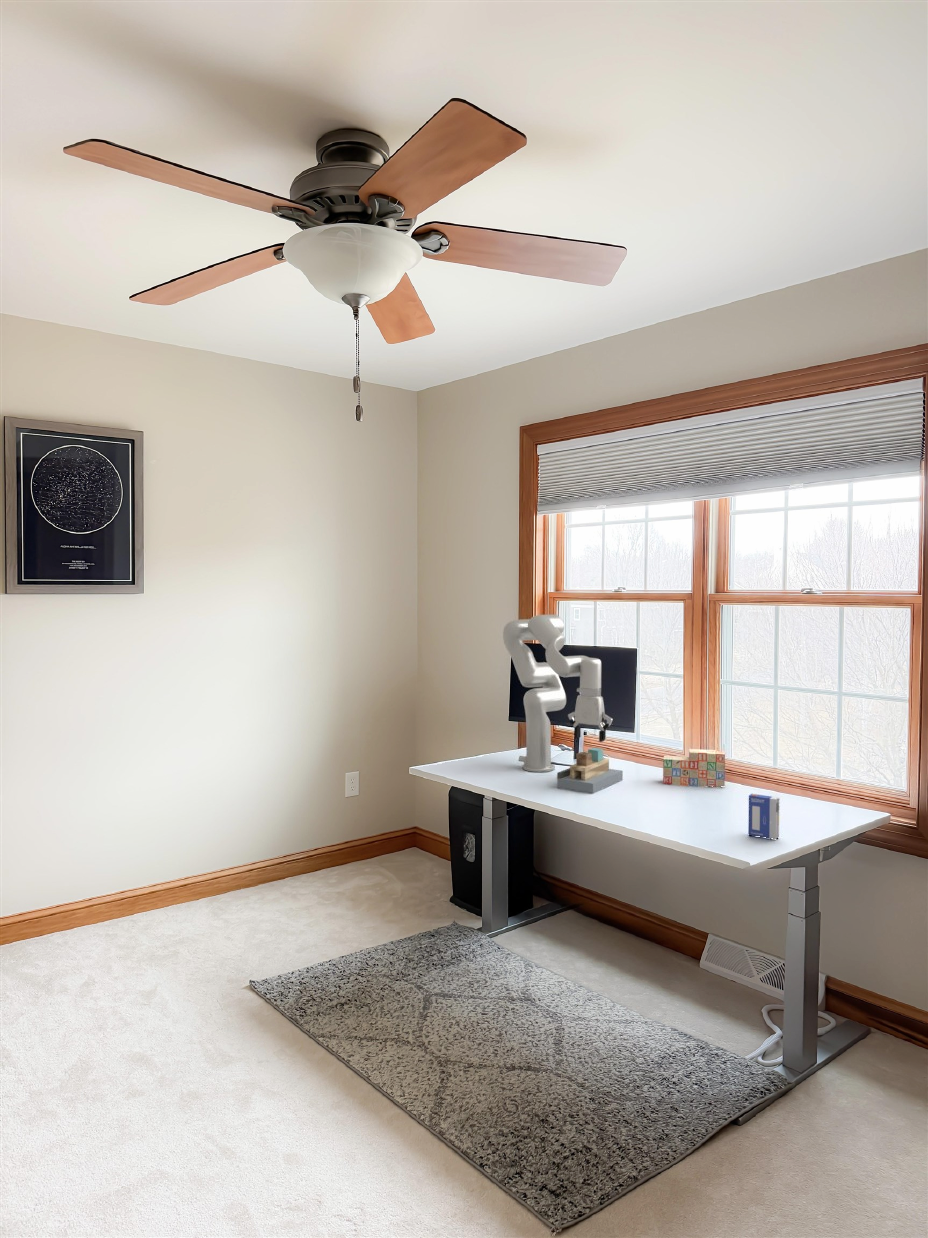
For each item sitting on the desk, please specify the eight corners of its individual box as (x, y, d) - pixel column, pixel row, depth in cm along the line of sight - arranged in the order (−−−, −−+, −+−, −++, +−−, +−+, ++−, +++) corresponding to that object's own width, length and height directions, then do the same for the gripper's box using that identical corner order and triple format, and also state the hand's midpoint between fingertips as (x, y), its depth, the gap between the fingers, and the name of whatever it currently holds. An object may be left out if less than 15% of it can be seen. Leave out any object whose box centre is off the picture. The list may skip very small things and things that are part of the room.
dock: (557, 788, 294) (557, 772, 294) (588, 775, 314) (588, 760, 313) (593, 793, 286) (593, 778, 286) (622, 780, 306) (622, 765, 305)
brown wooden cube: (576, 765, 295) (576, 753, 295) (581, 763, 299) (581, 751, 298) (586, 766, 293) (586, 755, 293) (591, 764, 296) (591, 753, 296)
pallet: (570, 778, 294) (570, 766, 294) (594, 768, 309) (594, 756, 309) (585, 780, 290) (585, 768, 290) (609, 770, 306) (609, 758, 306)
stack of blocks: (662, 784, 299) (662, 750, 298) (663, 780, 305) (663, 747, 305) (725, 788, 293) (725, 753, 293) (724, 784, 299) (724, 750, 299)
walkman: (748, 836, 237) (748, 794, 237) (751, 833, 240) (751, 792, 239) (776, 840, 233) (777, 798, 232) (779, 838, 235) (779, 796, 235)
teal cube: (588, 760, 303) (588, 749, 303) (593, 758, 306) (593, 747, 306) (598, 761, 301) (598, 750, 300) (602, 759, 304) (602, 748, 304)
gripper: (564, 691, 301) (563, 738, 302) (607, 696, 291) (607, 744, 292) (573, 689, 307) (573, 735, 308) (617, 693, 297) (616, 741, 298)
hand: (589, 739), depth 300 cm, fingers open, 9 cm apart
